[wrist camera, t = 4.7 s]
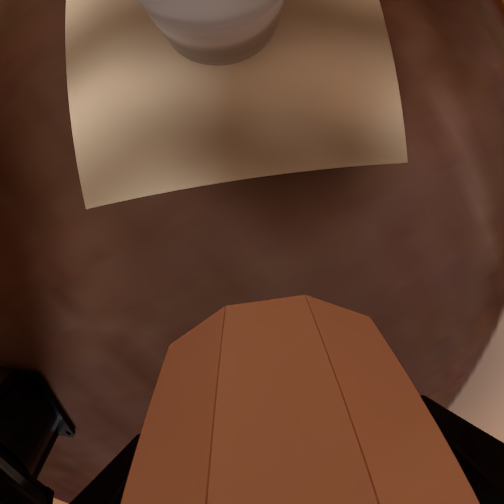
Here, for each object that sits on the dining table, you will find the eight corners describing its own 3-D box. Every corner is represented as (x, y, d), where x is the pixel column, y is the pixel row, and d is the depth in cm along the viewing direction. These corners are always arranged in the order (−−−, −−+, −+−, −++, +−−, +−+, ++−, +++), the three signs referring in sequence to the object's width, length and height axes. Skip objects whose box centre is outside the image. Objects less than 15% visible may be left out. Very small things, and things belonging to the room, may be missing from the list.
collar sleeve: (380, 446, 10) (425, 573, 4) (193, 471, 10) (179, 605, 4) (403, 277, 8) (560, 448, 2) (125, 316, 8) (16, 519, 2)
